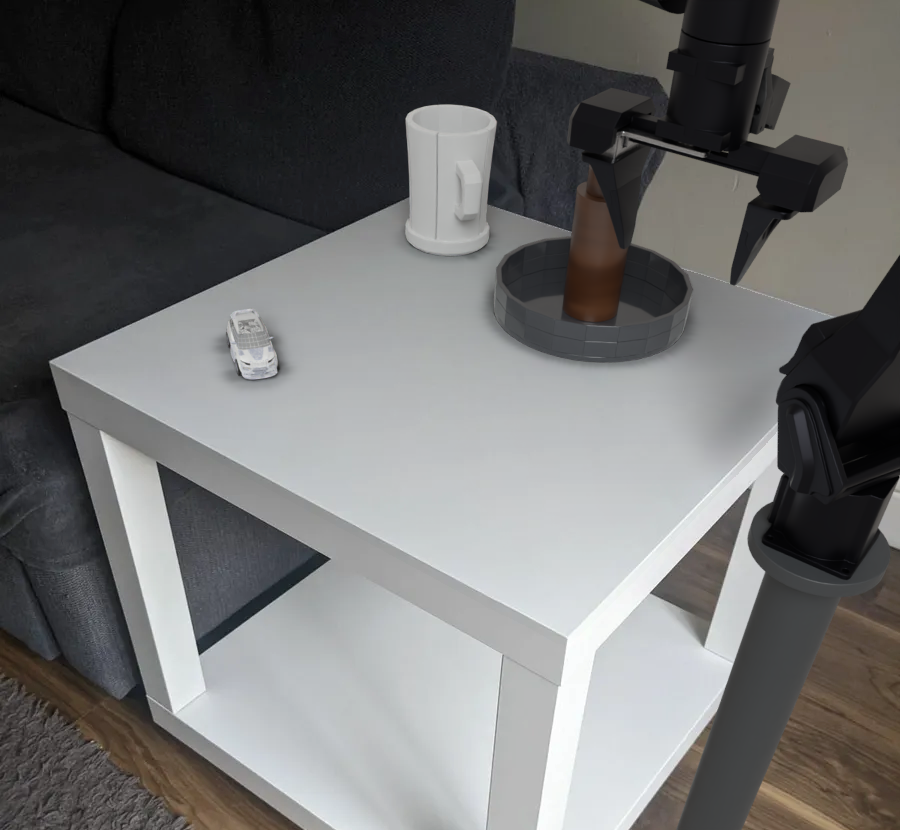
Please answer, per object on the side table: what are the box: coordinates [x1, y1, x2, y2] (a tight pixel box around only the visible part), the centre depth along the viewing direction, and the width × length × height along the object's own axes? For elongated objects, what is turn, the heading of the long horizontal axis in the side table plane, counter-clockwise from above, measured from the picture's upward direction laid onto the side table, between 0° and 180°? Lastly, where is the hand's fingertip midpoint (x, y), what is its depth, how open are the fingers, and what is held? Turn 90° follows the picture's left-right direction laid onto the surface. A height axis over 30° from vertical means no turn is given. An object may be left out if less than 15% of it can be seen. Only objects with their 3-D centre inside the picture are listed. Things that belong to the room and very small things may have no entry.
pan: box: [493, 235, 694, 363], centre depth 92 cm, size 18×18×4 cm
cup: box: [404, 104, 498, 257], centre depth 99 cm, size 10×9×12 cm
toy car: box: [225, 307, 280, 380], centre depth 84 cm, size 4×8×3 cm, turn 18°
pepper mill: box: [562, 164, 628, 322], centre depth 88 cm, size 5×5×14 cm
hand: (678, 264), depth 74 cm, fingers open, 9 cm apart
